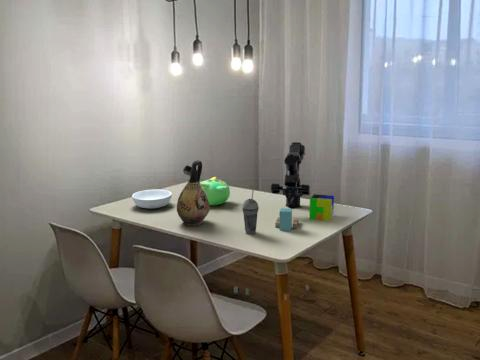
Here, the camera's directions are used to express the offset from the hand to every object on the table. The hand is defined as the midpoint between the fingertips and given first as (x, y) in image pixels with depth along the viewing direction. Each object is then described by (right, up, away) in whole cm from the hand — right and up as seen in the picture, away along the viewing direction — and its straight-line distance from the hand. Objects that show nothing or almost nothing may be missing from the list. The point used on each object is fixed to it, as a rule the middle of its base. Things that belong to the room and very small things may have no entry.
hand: (289, 204), depth 230 cm
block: (-3, -11, -11) cm, 16 cm away
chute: (-2, -9, -6) cm, 11 cm away
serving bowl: (-70, -3, +27) cm, 76 cm away
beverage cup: (-19, -12, -16) cm, 27 cm away
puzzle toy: (+17, -7, +6) cm, 19 cm away
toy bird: (-38, -2, +29) cm, 48 cm away
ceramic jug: (-45, -9, -1) cm, 46 cm away
